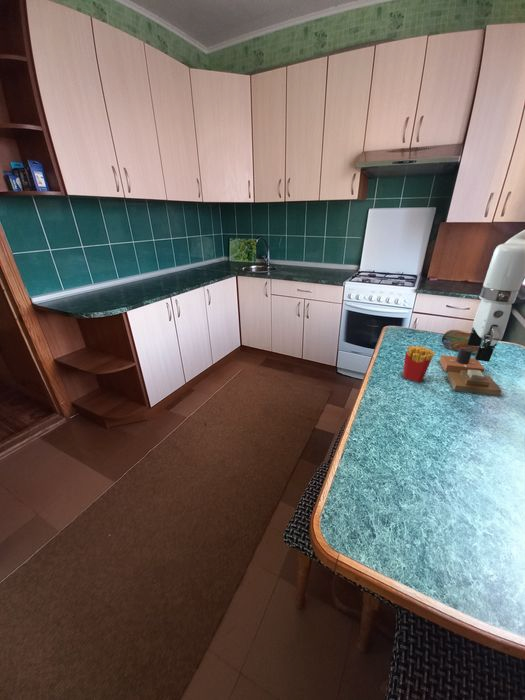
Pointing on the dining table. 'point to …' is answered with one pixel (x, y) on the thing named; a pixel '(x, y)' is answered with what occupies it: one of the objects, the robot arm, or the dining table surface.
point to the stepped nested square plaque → (473, 384)
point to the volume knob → (464, 355)
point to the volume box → (459, 364)
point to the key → (475, 374)
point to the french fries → (417, 362)
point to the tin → (457, 340)
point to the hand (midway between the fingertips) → (477, 352)
